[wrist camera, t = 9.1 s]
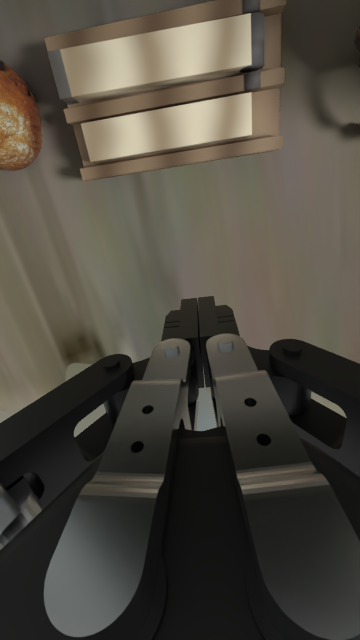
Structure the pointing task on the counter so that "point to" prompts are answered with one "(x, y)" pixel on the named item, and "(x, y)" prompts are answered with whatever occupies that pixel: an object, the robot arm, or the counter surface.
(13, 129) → the bread roll
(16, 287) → the counter surface
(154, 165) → the wooden slat frame
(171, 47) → the hinged leg
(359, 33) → the pottery mug
